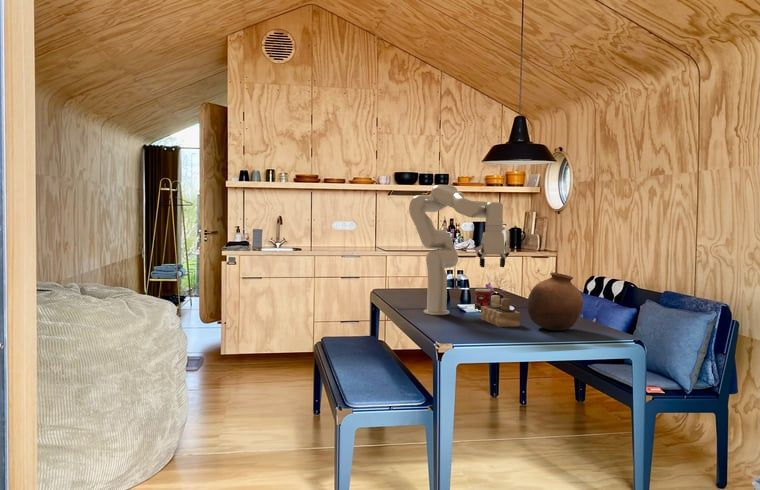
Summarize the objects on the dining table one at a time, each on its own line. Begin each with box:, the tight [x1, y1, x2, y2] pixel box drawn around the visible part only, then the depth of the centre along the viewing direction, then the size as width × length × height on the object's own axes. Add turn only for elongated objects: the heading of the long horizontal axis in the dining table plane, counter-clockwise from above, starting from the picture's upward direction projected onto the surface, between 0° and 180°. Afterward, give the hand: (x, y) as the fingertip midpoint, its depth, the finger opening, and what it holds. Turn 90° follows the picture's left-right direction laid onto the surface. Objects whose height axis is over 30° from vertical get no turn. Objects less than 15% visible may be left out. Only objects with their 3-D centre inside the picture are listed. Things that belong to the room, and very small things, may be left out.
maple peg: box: [491, 294, 501, 308], centre depth 286 cm, size 4×4×7 cm
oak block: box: [480, 305, 521, 328], centre depth 281 cm, size 19×10×7 cm, turn 17°
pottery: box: [526, 271, 584, 332], centre depth 266 cm, size 23×23×25 cm
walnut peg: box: [500, 297, 511, 311], centre depth 277 cm, size 4×4×7 cm
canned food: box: [474, 288, 492, 310], centre depth 312 cm, size 8×8×11 cm
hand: (492, 267), depth 278 cm, fingers open, 9 cm apart
